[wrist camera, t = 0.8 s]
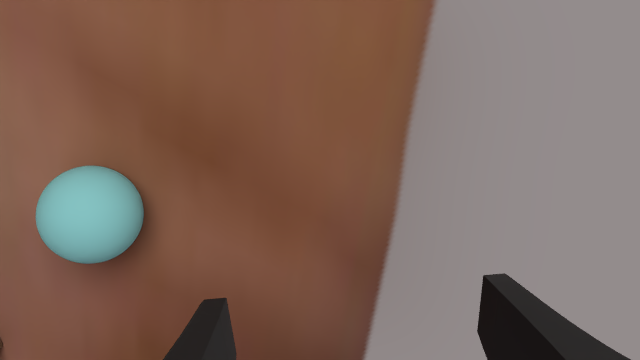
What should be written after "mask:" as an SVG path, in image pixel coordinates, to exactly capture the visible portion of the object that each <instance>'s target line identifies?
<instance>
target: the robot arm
mask: <svg viewBox="0 0 640 360" xmlns="http://www.w3.org/2000/svg"><path fill="white" fill-rule="evenodd" d="M477 331H478V335H479V337H480V340H481V343H482V346H483V349H484V352H485V354H486V357H487V360H630V359H629V358H627V357H625V356H623V355H622V354H620V353H618V352H616V351H615V350H613V349H611V348H610V347H608V346H606V345H605V344H603V343H601V342H600V341H598V340H597V339H595V338H594V337H592V336H591V335H589V334H588V333H586V332H585V331H583V330H582V329H580V328H579V327H577V326H576V325H574V324H573V323H571V322H570V321H568V320H567V319H566V318H564V317H563V316H561V315H560V314H559V313H557V312H556V311H554V310H553V309H552V308H550V307H549V306H548V305H546V304H545V303H543V302H542V301H541V300H540V299H538V298H537V297H536V296H534V295H533V294H532V293H530V292H529V291H528V290H526V289H525V288H524V287H522V286H521V285H520V284H518V283H517V282H516V281H515V280H513V279H512V278H510V277H509V276H508V275H506V274H493V275H484V276H483V284H482V293H481V302H480V312H479V321H478V330H477ZM163 360H236V349H235V343H234V338H233V332H232V326H231V321H230V315H229V310H228V304H227V299H226V298H218V299H207V300H204V301H203V302H202V303H201V304H200V306H199V307H198V309H197V310H196V312H195V314H194V315H193V317H192V318H191V320H190V322H189V323H188V325H187V326H186V328H185V329H184V331H183V332H182V334H181V335H180V337H179V338H178V339H177V341H176V342H175V344H174V345H173V346H172V348H171V349H170V351H169V352H168V353H167V355H166V356H165V358H164V359H163Z"/></svg>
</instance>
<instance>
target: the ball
mask: <svg viewBox="0 0 640 360" xmlns="http://www.w3.org/2000/svg"><path fill="white" fill-rule="evenodd" d="M143 217H144V209H143V203H142V199H141V196H140V194H139V192H138V191H137V189H136V187H135V186H134V185H133V184H132V182H131V181H130V180H128V179H127V178H126V177H125V176H123V175H122V174H120V173H119V172H117V171H114V170H112V169H109V168H106V167H101V166H82V167H77V168H73V169H71V170H68V171H66V172H64V173H62V174H60V175H59V176H57V177H56V178H55V179H54V180H52V181H51V182H50V183H49V184H48V185H47V187H46V188H45V189H44V191H43V192H42V194H41V196H40V198H39V201H38V204H37V209H36V224H37V228H38V231H39V234H40V236H41V238H42V240H43V241H44V243H45V244H46V245H47V246H48V247H49V248H50V249H51V250H52V251H53V252H54V253H56V254H57V255H59V256H61V257H62V258H64V259H67V260H69V261H73V262H77V263H85V264H89V263H100V262H104V261H107V260H110V259H112V258H114V257H116V256H118V255H120V254H121V253H123V252H124V251H125V250H126V249H127V248H129V247H130V246H131V244H132V243H133V242H134V241H135V239H136V238H137V236H138V234H139V232H140V230H141V227H142V224H143Z"/></svg>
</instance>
